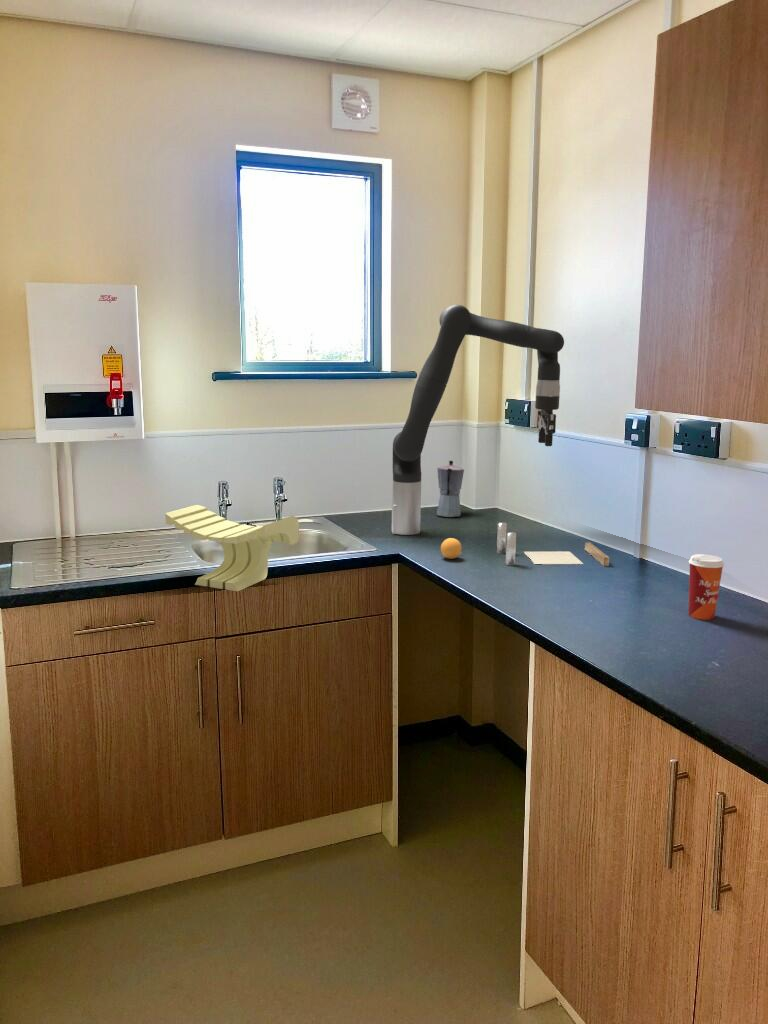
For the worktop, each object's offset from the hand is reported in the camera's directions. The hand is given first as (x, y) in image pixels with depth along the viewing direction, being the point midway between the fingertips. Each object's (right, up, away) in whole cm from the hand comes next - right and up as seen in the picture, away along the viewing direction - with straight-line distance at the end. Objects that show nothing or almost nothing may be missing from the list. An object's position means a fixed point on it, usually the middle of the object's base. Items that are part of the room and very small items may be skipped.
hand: (545, 444), depth 272 cm
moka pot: (-29, -24, +29) cm, 48 cm away
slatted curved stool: (-92, -40, -54) cm, 114 cm away
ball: (-33, -33, -30) cm, 55 cm away
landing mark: (-3, -36, -28) cm, 45 cm away
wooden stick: (+10, -36, -27) cm, 46 cm away
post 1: (-17, -34, -22) cm, 44 cm away
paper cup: (+21, -46, -78) cm, 93 cm away
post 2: (-17, -37, -35) cm, 54 cm away
